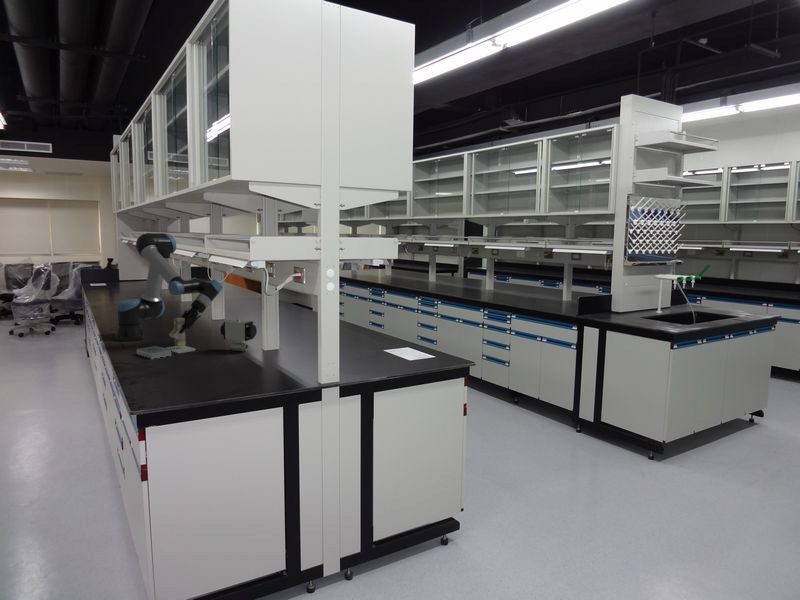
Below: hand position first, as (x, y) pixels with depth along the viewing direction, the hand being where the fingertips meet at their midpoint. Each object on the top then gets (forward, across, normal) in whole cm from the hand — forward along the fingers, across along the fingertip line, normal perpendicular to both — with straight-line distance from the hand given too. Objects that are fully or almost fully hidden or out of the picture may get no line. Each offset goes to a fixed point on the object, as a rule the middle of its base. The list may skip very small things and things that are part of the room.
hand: (172, 337), depth 273 cm
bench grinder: (-12, -24, -23) cm, 35 cm away
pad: (+3, 0, -8) cm, 9 cm away
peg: (+1, 0, -6) cm, 6 cm away
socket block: (+13, -2, +2) cm, 14 cm away
